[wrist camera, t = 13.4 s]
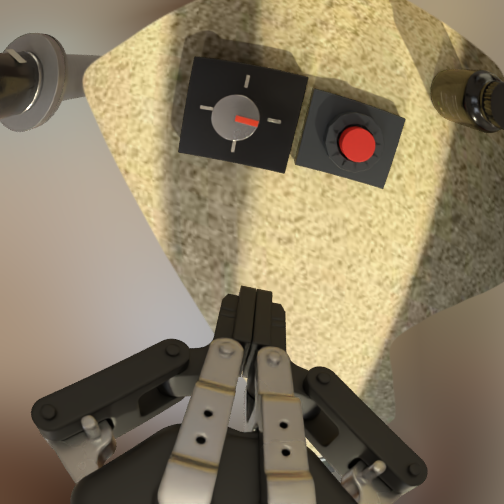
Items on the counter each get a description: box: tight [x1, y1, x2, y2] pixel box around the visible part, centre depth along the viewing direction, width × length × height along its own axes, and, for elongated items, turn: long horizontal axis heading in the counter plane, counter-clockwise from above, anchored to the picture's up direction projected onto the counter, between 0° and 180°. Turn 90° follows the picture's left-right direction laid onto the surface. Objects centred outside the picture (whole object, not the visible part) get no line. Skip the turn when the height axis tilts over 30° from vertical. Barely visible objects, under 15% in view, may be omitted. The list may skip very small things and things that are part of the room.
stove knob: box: [211, 94, 261, 141], centre depth 29 cm, size 4×4×5 cm
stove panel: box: [178, 56, 308, 173], centre depth 32 cm, size 12×11×3 cm
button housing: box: [294, 89, 405, 189], centre depth 33 cm, size 11×9×4 cm
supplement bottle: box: [431, 69, 504, 133], centre depth 24 cm, size 7×7×12 cm
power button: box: [339, 126, 375, 162], centre depth 31 cm, size 4×4×2 cm
